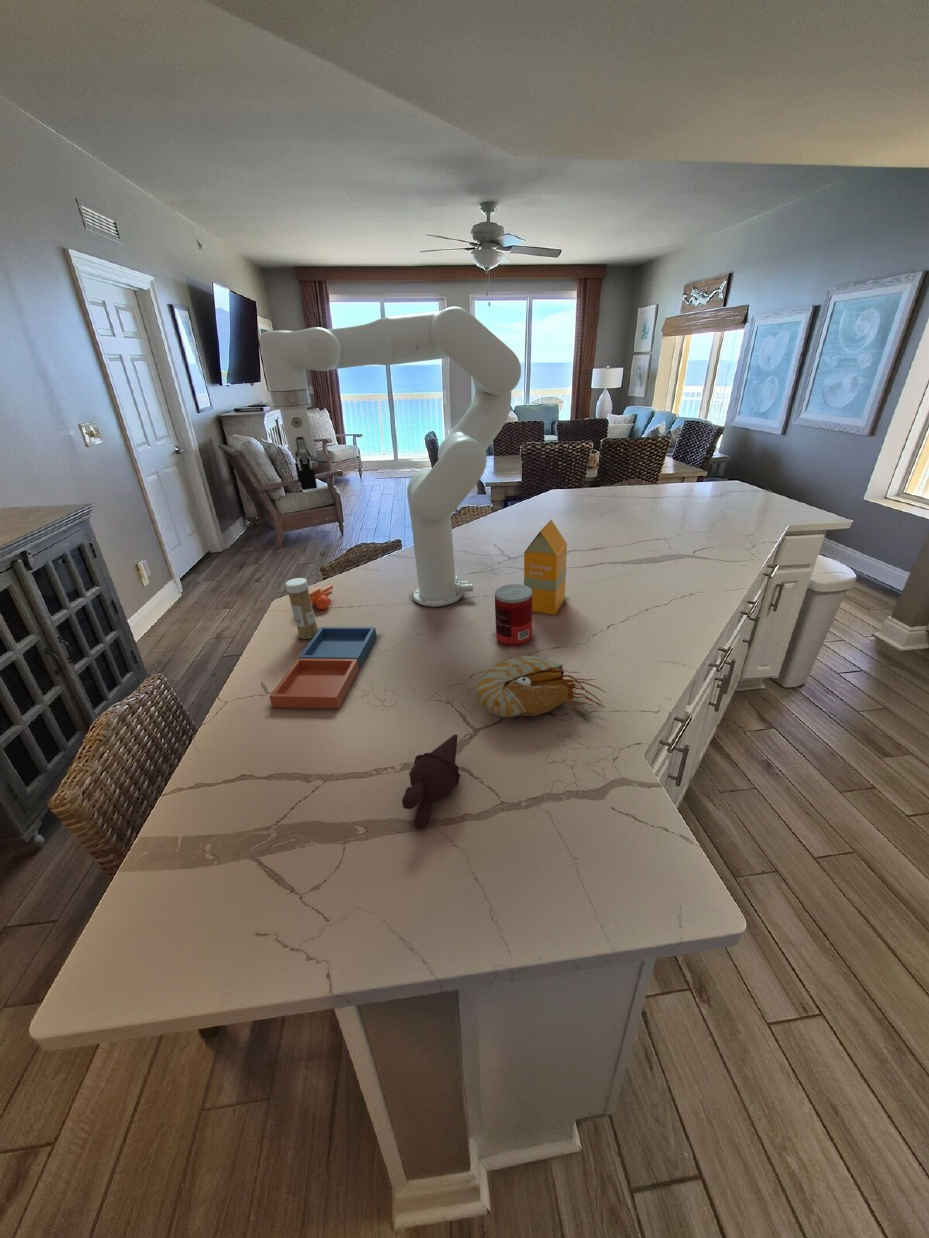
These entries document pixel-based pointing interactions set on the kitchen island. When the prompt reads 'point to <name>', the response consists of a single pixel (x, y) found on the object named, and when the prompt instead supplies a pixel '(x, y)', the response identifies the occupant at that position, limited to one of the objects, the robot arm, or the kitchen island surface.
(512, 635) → the canned food
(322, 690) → the terracotta tray
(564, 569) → the orange juice
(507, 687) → the nautilus
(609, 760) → the kitchen island surface
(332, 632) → the slate tray
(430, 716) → the kitchen island surface
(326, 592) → the orange toy motorcycle
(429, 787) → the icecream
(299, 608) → the sprinkles bottle
